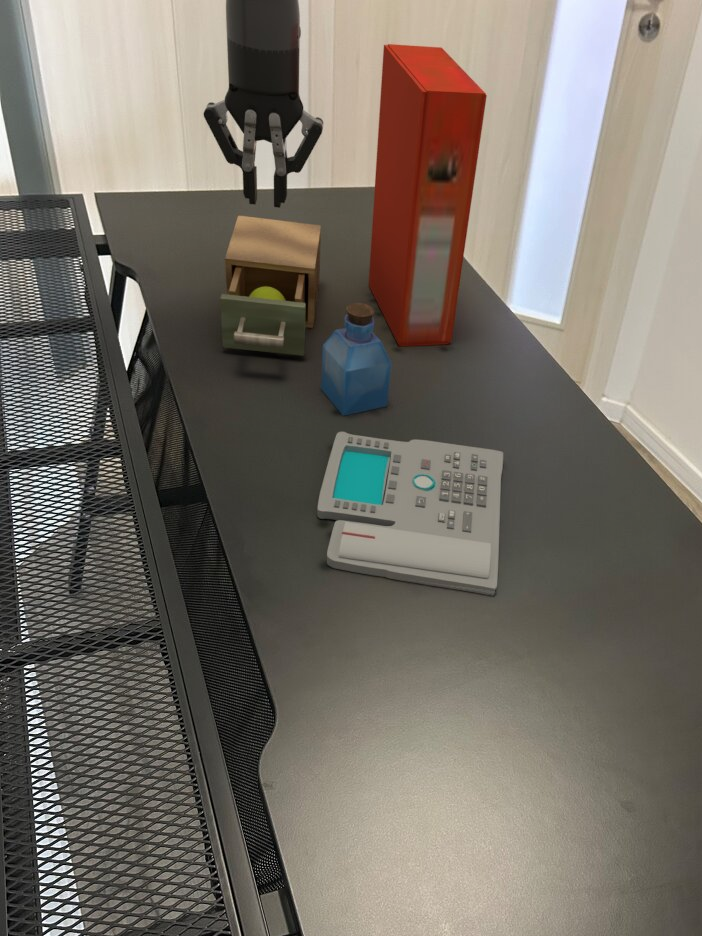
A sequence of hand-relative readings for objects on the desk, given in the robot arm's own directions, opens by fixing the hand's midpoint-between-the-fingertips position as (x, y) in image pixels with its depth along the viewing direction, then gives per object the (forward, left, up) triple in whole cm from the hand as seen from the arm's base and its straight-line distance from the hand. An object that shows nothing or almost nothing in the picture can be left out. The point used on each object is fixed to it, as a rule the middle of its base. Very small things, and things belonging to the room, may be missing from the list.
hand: (265, 202), depth 102 cm
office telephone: (+19, -33, -18) cm, 42 cm away
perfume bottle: (+12, -12, -18) cm, 25 cm away
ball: (0, 0, -16) cm, 16 cm away
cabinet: (0, +11, -18) cm, 21 cm away
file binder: (+19, +11, -18) cm, 29 cm away
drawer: (0, -1, -17) cm, 17 cm away
